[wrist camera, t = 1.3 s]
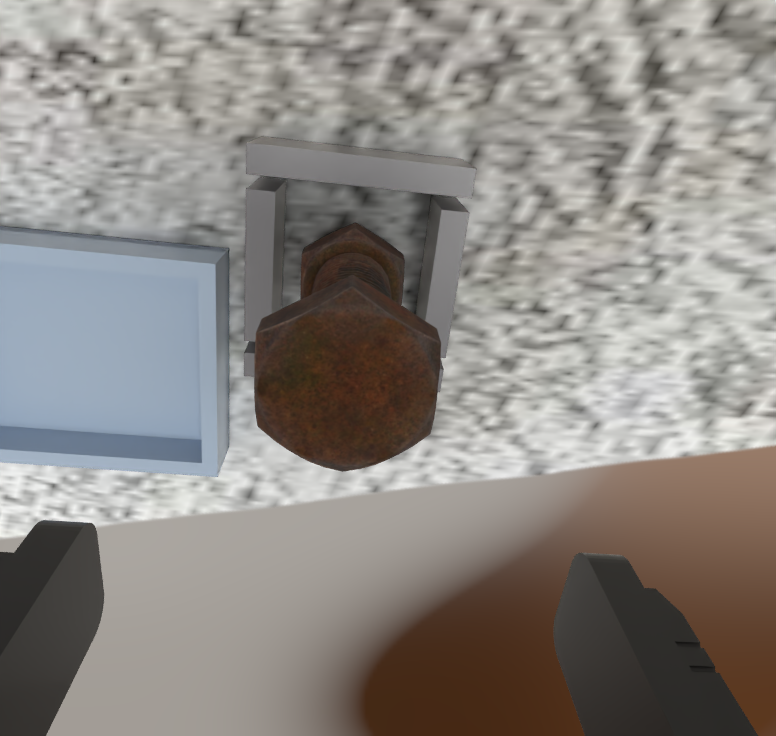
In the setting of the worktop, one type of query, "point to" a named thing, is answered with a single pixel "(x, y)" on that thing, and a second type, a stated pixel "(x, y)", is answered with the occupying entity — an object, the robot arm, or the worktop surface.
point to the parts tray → (113, 353)
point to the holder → (359, 171)
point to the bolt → (347, 358)
